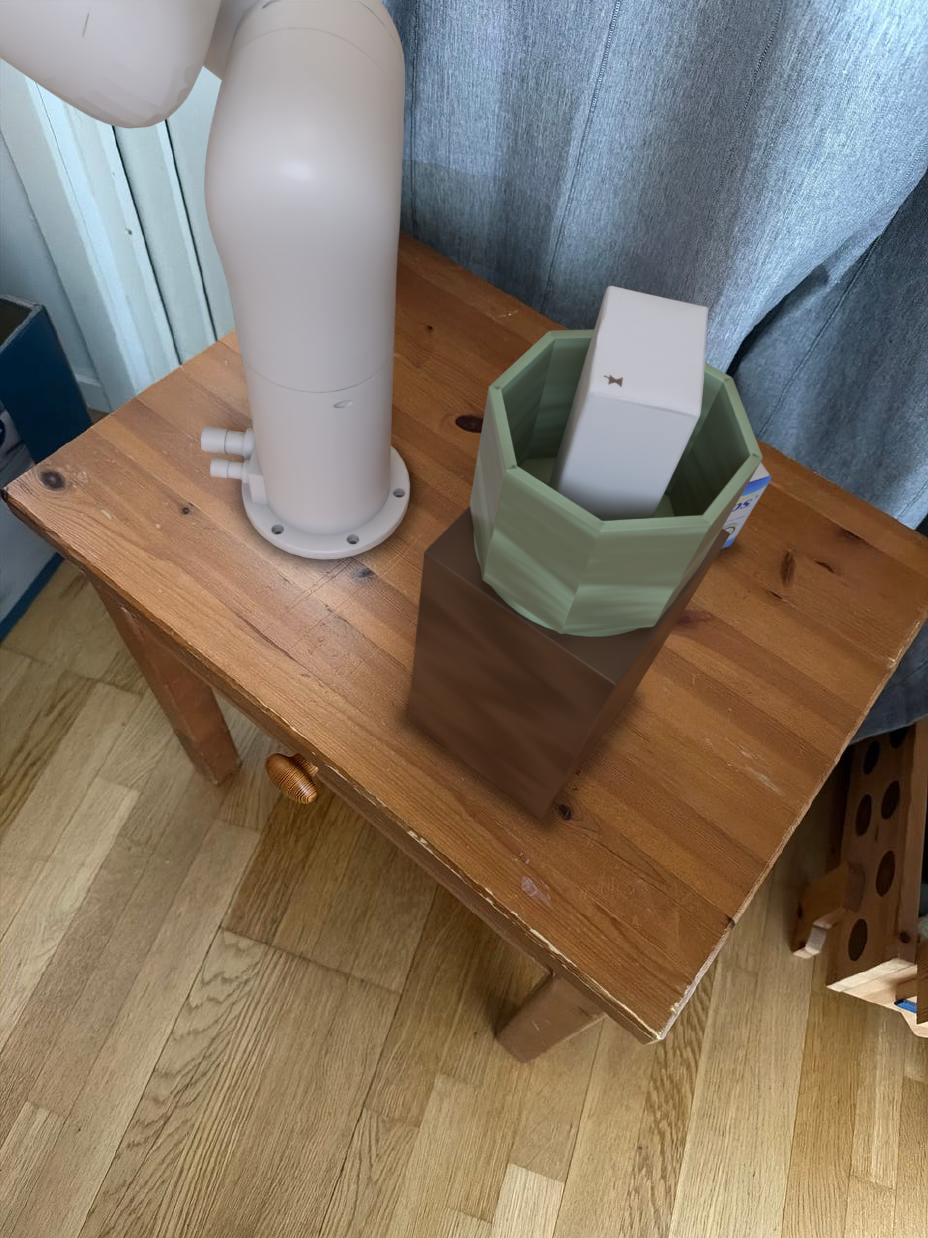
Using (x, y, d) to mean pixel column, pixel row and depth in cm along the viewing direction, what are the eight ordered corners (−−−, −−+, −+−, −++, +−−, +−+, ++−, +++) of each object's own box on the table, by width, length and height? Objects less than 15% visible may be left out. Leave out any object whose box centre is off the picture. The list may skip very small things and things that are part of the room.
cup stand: (407, 719, 60) (434, 429, 35) (502, 610, 65) (586, 289, 40) (540, 820, 57) (672, 583, 33) (630, 699, 62) (803, 414, 37)
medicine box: (644, 577, 67) (678, 507, 60) (616, 531, 69) (646, 458, 62) (731, 547, 70) (775, 476, 62) (702, 503, 71) (741, 430, 64)
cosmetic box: (619, 595, 42) (702, 418, 31) (530, 576, 42) (583, 392, 31) (632, 495, 45) (712, 303, 34) (549, 477, 45) (604, 280, 34)
